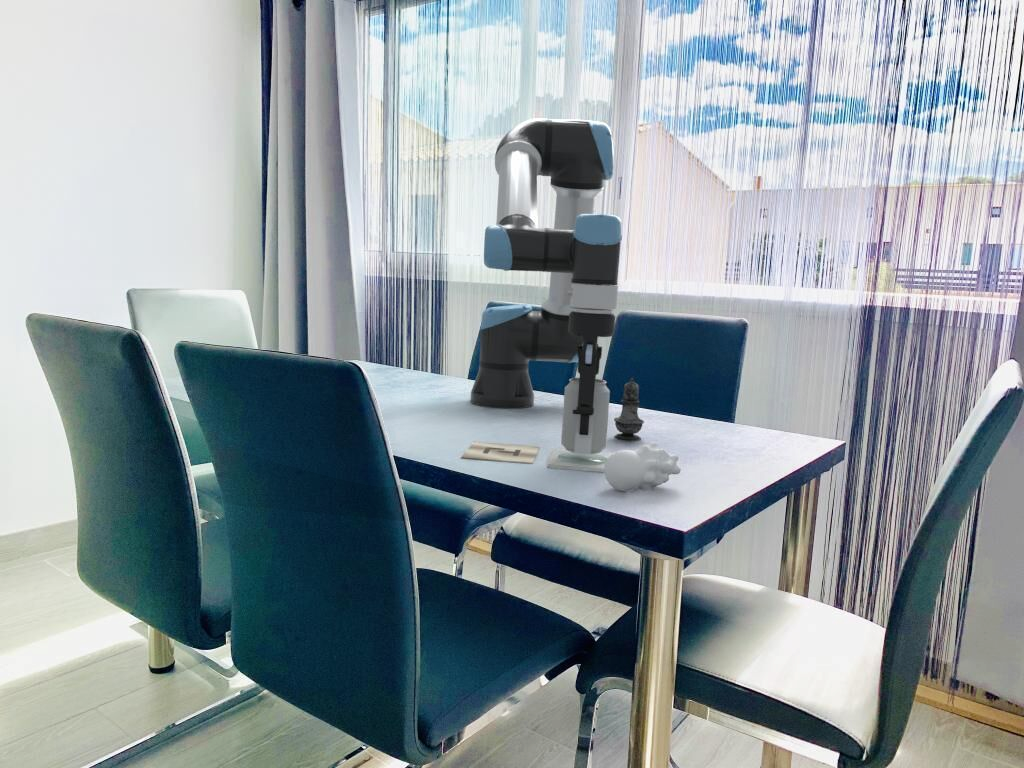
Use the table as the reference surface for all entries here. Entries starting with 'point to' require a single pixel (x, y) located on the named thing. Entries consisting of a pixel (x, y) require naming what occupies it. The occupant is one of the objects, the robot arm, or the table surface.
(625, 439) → the salt shaker
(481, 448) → the tile
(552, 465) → the coaster
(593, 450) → the can
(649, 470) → the figurine
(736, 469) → the table surface
